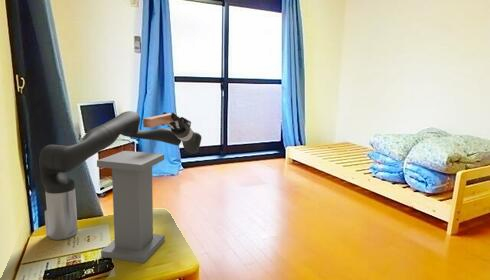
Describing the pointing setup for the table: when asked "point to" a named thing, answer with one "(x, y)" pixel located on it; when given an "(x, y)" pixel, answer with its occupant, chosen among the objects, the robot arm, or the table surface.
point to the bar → (157, 120)
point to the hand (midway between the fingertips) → (168, 114)
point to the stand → (132, 206)
